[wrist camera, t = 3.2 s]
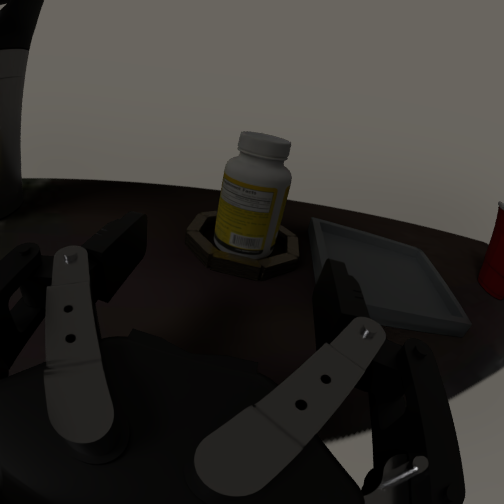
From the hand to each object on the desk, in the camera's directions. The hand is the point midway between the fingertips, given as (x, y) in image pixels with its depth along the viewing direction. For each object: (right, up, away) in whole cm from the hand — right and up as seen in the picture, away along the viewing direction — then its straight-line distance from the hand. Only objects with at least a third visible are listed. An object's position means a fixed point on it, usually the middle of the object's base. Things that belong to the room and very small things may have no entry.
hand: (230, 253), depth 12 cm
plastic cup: (+37, -6, +18) cm, 41 cm away
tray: (+14, -3, +13) cm, 19 cm away
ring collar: (0, +1, +13) cm, 13 cm away
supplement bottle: (0, 0, +13) cm, 13 cm away
